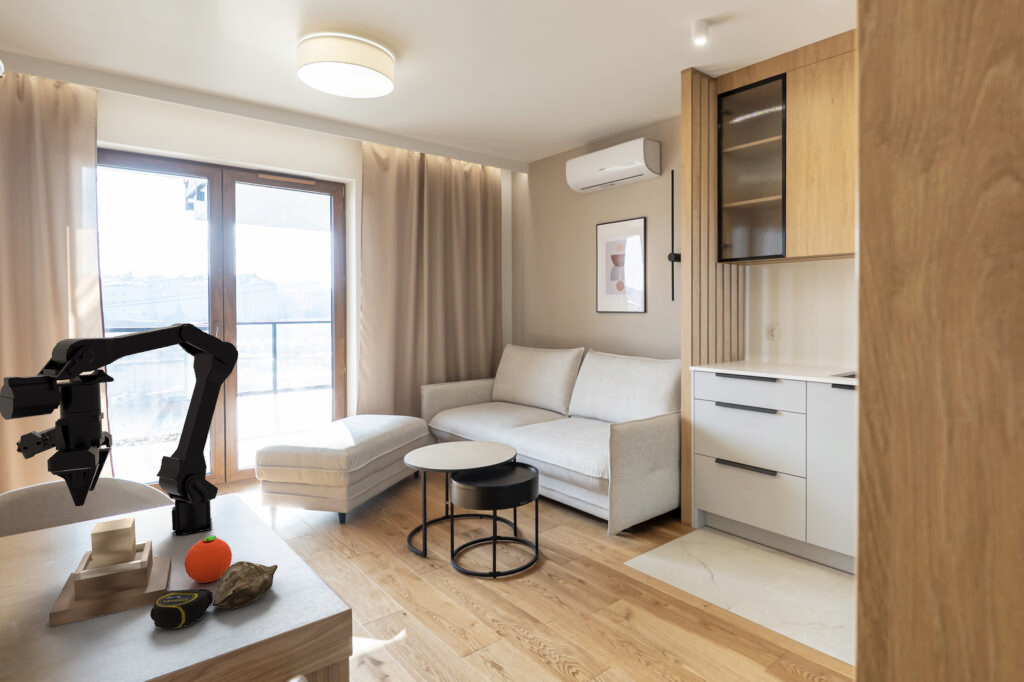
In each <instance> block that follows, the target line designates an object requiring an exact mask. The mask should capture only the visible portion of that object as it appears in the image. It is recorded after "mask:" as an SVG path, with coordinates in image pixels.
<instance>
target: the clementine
mask: <svg viewBox="0 0 1024 682" xmlns="http://www.w3.org/2000/svg"><path fill="white" fill-rule="evenodd" d="M232 559H233V553H232V550H231V548H230V546H229V544H228V543H226V541H224V540H222V539H220V538H217V536H216V535H211V536H210V535H209V536H206V537H204V538H203V539H201V540H198V541H197V542H195V543H194V544H193V545H192V546H191V547H190V548H189V550H188V551H187V554H186V556H185V558H184V564H183V566H184V570H185V572H186V574H187V576H188V577H189V578H190V579H191V580H193V581H195V582H197V583H201V584H203V583H212V582H214V581H217V580H219V579H220V578H221V577H222V575H223V573H224V572H225V571H226V570H227V568H229V567H230V566H231V565H232V564H231V563H232Z"/></svg>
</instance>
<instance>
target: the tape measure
mask: <svg viewBox="0 0 1024 682" xmlns="http://www.w3.org/2000/svg"><path fill="white" fill-rule="evenodd" d="M213 601H214V593H213V591H212V590H211V589H207V588H194V589H193V588H191V589H190V588H189V589H175V590H168V591H166V592H165V593H164V594H163V596H162V597H160V598H158V599H157V600H156V602H155V603H154V604H153V606H152V608H151V610H150V612H149V613H150V614H149V617H150V619H151V621H153V622H154V626H155V627H156V628H158V629H161V630H162V629H163V630H174V629H179V628H184V627H186V626H189V625H193V624H195V623H196V622H198V621H199V620H201V619H202V618H203V617H204V616H205V614H206V612H207V610H208V609H209V608H210V607H211V606H212V605H213Z"/></svg>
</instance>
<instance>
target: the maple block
mask: <svg viewBox="0 0 1024 682" xmlns="http://www.w3.org/2000/svg"><path fill="white" fill-rule="evenodd" d="M90 536H91V537H90V538H91V551H92V562H93V569H94V568H100V567H105V566H111V565H116V564H122V563H127V562H132V561H134V558H135V555H136V543H137V541H136V517H135V516H133V517H126V518H120V519H113V520H107V521H100V522H99V521H98V522H96V524H95V526H94V527H93V530H91V533H90Z"/></svg>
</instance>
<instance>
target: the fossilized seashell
mask: <svg viewBox="0 0 1024 682" xmlns="http://www.w3.org/2000/svg"><path fill="white" fill-rule="evenodd" d="M277 569H278V564H274V565H271V566H267V565H263V564H261V563H255V562H251V561H246V560H243V561H237V562H235V563H233V564H230V566H229V568H227V570H226V571H225V572H224V573H223V575H222V576H221V577H220V578H219V579H218V581H217V584H216V591H215V594H214V597H213V602H212V606H213V607H215V608H219V609H231V610H232V609H236V608H241V607H244V606H247V605H249V604H250V603H253V602H254V601H255V600H257V599H258V598H260V597H262V596H263V595H265V594H267V593H268V592H269V591H270V590H271V589H272V587H273V584H274V577H275V576H274V575H275V573H276V571H277Z"/></svg>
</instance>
